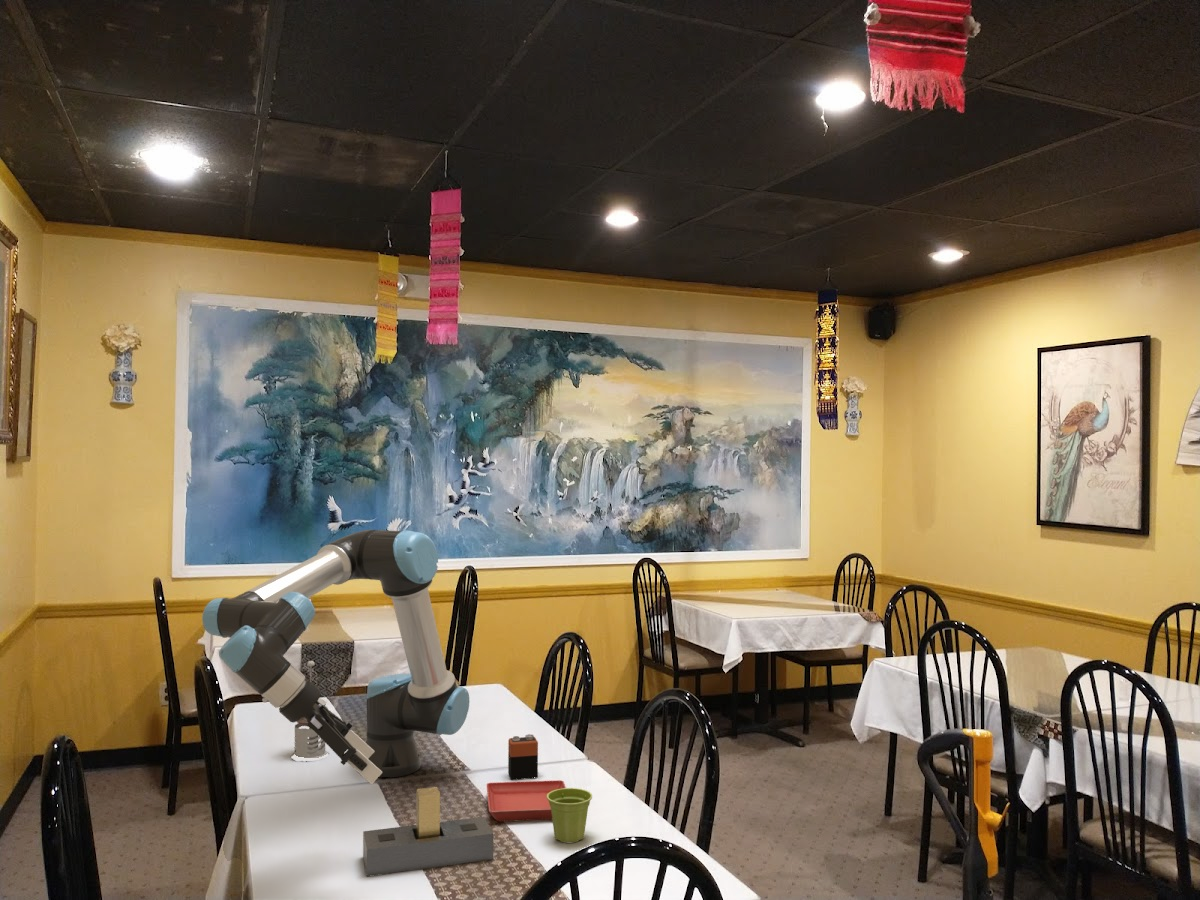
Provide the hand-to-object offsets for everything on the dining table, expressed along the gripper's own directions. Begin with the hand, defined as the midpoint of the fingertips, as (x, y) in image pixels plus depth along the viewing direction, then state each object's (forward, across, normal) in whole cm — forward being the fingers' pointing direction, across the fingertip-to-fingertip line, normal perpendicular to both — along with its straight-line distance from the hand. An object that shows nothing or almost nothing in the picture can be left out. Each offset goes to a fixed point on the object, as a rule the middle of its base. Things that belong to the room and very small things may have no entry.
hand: (373, 767), depth 177 cm
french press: (+7, -74, -19) cm, 76 cm away
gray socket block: (+21, 0, -6) cm, 22 cm away
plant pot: (+41, 0, +15) cm, 44 cm away
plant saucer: (+39, -19, +12) cm, 45 cm away
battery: (+42, -39, +16) cm, 59 cm away
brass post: (+20, 0, -5) cm, 21 cm away
